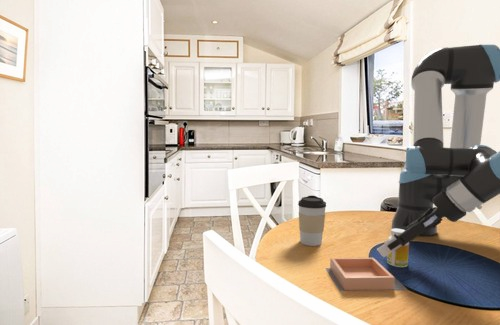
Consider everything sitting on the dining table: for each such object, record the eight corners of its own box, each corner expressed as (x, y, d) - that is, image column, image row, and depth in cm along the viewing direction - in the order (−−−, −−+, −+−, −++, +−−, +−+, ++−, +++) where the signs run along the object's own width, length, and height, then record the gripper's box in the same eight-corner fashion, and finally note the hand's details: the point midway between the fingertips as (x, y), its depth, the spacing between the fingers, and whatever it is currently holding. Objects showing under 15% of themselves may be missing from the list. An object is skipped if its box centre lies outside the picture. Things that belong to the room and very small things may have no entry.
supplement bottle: (411, 264, 90) (413, 230, 89) (402, 270, 87) (404, 234, 86) (391, 258, 94) (393, 226, 93) (382, 263, 91) (384, 230, 90)
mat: (384, 269, 87) (384, 267, 87) (407, 291, 75) (407, 289, 75) (325, 269, 86) (325, 268, 86) (339, 292, 75) (339, 290, 75)
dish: (372, 268, 87) (373, 257, 87) (394, 289, 75) (394, 277, 75) (330, 268, 86) (330, 257, 86) (344, 290, 75) (345, 278, 74)
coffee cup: (325, 248, 102) (326, 201, 101) (296, 245, 104) (297, 199, 102) (324, 238, 111) (326, 195, 109) (297, 236, 113) (299, 194, 111)
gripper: (464, 222, 72) (383, 272, 83) (471, 206, 87) (401, 250, 99) (438, 195, 74) (363, 247, 86) (449, 184, 90) (384, 230, 101)
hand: (384, 249), depth 92 cm, fingers open, 6 cm apart
